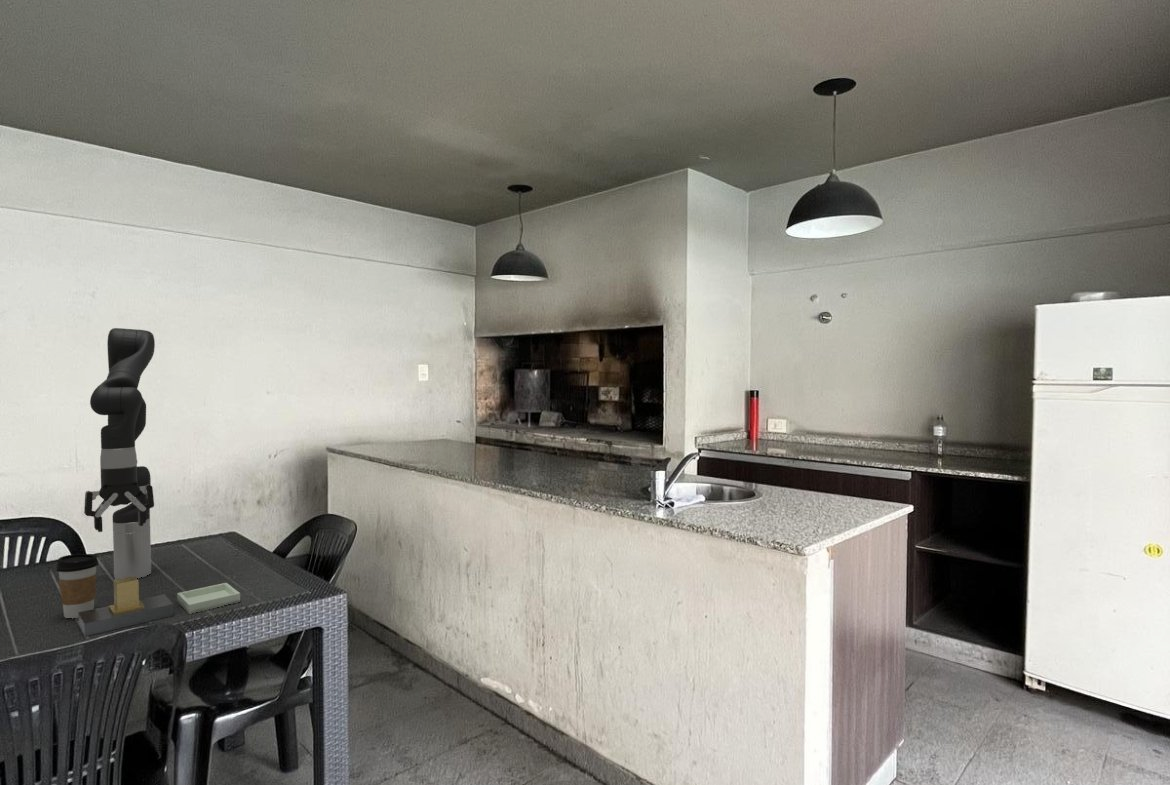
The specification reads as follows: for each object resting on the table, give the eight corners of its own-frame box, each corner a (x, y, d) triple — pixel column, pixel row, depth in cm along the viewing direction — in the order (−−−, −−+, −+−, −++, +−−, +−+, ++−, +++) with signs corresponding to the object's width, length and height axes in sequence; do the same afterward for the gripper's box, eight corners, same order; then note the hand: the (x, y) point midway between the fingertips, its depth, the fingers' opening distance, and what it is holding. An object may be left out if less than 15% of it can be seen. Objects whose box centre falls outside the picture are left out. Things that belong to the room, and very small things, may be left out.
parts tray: (177, 602, 171) (177, 593, 171) (226, 591, 180) (226, 582, 180) (189, 614, 163) (189, 604, 163) (240, 602, 171) (240, 593, 171)
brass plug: (108, 619, 159) (107, 579, 159) (139, 612, 164) (138, 573, 164) (113, 626, 155) (112, 585, 155) (145, 619, 159) (144, 579, 159)
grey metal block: (78, 624, 157) (78, 612, 156) (164, 605, 169) (164, 594, 169) (84, 636, 150) (84, 623, 149) (173, 615, 162) (173, 603, 162)
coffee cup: (73, 608, 167) (71, 552, 166) (107, 607, 167) (105, 551, 167) (49, 621, 158) (47, 562, 158) (85, 620, 159) (83, 561, 159)
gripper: (148, 461, 170) (150, 521, 170) (81, 467, 160) (83, 531, 160) (155, 463, 165) (157, 526, 165) (86, 469, 154) (88, 536, 155)
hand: (120, 528), depth 163 cm, fingers open, 8 cm apart
